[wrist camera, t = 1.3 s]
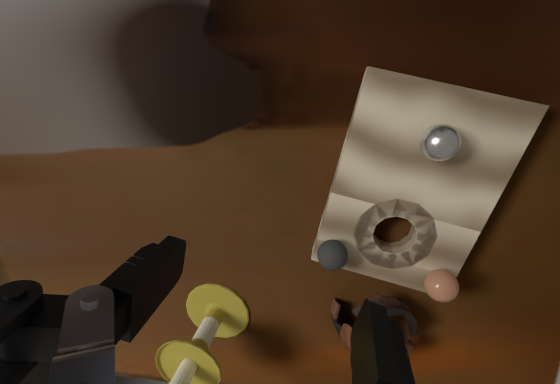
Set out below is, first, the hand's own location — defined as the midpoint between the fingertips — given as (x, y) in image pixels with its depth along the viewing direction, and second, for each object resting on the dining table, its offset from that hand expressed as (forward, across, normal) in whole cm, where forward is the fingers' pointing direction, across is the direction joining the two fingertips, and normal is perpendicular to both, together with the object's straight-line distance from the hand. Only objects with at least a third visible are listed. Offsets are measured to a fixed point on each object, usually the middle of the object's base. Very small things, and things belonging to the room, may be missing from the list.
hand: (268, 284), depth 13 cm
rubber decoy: (+19, -5, +9) cm, 22 cm away
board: (+23, -11, +1) cm, 26 cm away
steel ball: (+19, -11, -5) cm, 23 cm away
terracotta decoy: (+19, -17, +9) cm, 27 cm away
